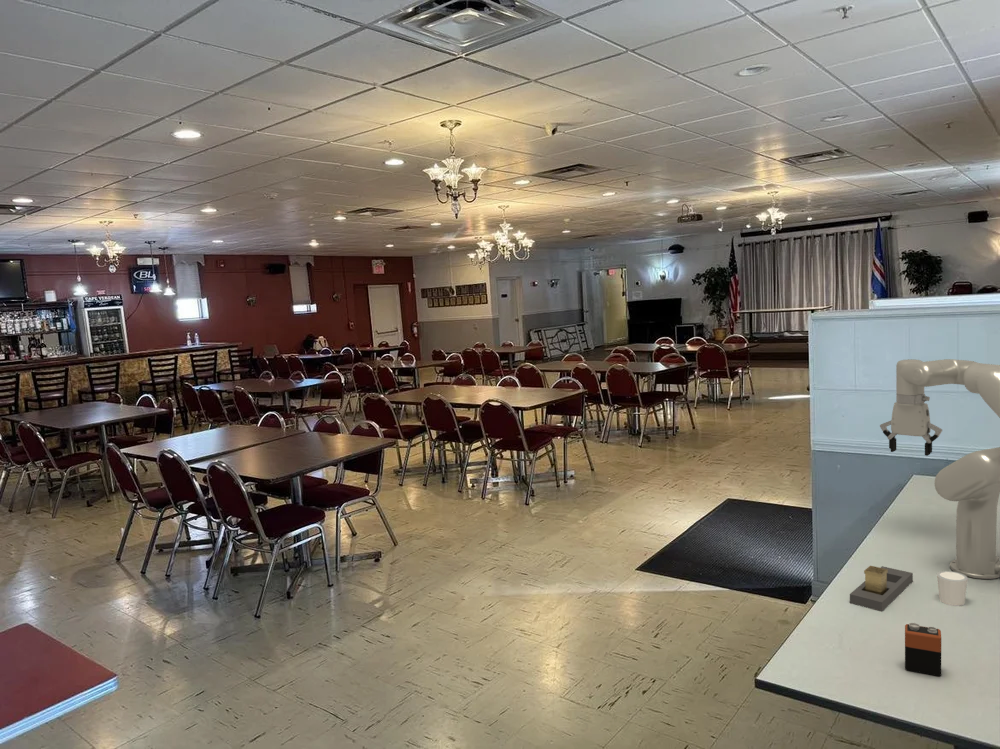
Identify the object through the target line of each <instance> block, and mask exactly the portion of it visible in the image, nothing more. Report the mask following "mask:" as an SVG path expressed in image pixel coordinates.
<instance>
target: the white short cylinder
mask: <svg viewBox="0 0 1000 749" xmlns="http://www.w3.org/2000/svg"><path fill="white" fill-rule="evenodd" d="M936 577H937V578H936V579H937V586H938V588H937V589H938V598H939V599H938V600H939V601H940V602H941V603H943V604H945V605H949V606H952V607H953V606H955V607H957V606H959V607H960V606H961V607H962V606H963V605H965V603H966V595H967V588H968V578H969V577H968V576H965V575H963V574H961V573H957V572H954V571H953V570H942V571H938V572H937V573H936Z"/></svg>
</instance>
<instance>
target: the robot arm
mask: <svg viewBox="0 0 1000 749" xmlns="http://www.w3.org/2000/svg"><path fill="white" fill-rule="evenodd" d="M895 366H896V370H895V373H896V375H895V376H896V380H895V382H896V392H895V393H896V394H895V395H896V401H895V402H894V404H893V407H892V414H891V420H888V421H886V422H883V423H882V424H879V427H880V429H881V431H882V433H883V434H884V436H885V437H886V438H887V439H888V448H889V449H890V452H891V453H893V452H896V451H897V438H896V436H897V435H899V436H908V437H909V436H911V437H922V438H923V440H925V442H924V456H926V457H927V456H930V455H931V454H932V452H933V442H934V441H936V439H938V438H939V437H940V435H941V434H942V432H943V429H942V428H940V427H939V426H936V424H933V423H931V416H930V408H929V404H928V403H925V402H929V401H930V396H926V394H925V387H926V388H927V387H936V386H942V385H952V384H953V385H962V386H964V387H965V389H966V390H967V391H968V392H970V393H972V394H977V395H978V394H979V395H980V397H981V398H982V400H983V401H984V402H985V404H987V405H988V406H989V408H990V409H991V410H992V411H993V413H995V414H996V415H997V417H999V419H1000V364H993V363H981V362H978V361H977V362H976V361H973V360H968V359H967V360H966V359H965V360H964V359H951V358H950V359H949V358H948V359H938V360H937V359H935V360H929V361H928V360H927V361H923V360H920V359H901V360H898V361H897V362H896V364H895ZM888 426H890V430H891V431H890V430H889V429H888ZM931 430H932V431H934V434H933V435H931V434H930V433H931ZM934 489H935V491H936V493H937V495H939V496H940V497H941V498H943V499H944V500H946V501H950V502H957V507H956V516H955V517H956V520H955V522H956V529H955V531H956V532H955V534H956V535H955V536H956V537H955V538H956V540H955V541H956V542H955V544H956V546H955V549H956V550H955V559H953V560H951V561H949V562H950V563H949V569H951V571H952V572H957V573H961V574H963V575H965V576H967V578H973V579H978V580H980V579H981V580H982V579H983V580H990V579H991V580H993V579H998V578H1000V556H998V555H997V526H998V525H997V520H998V519H997V518H998V503H999V497H1000V446H999V447H992V448H987V449H980V450H976V451H975V450H974V451H973V452H970V453H968V454H965V455H964V456H962V457H960V458H958V459H957V460H955V461H954V462H952V463H950V464H948V465H947V466H945V467H944V468H942V469H940V470H939V471H938V473H936V475H935V478H934Z"/></svg>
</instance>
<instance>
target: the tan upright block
mask: <svg viewBox="0 0 1000 749" xmlns="http://www.w3.org/2000/svg"><path fill="white" fill-rule="evenodd" d="M887 572H888V569H884V568H881V567H879V566H875V565H869V566H867V567H866V568H865V569H864V570H863V574H864V575H865V578H864V581H865V591H867V592H871V593H875V594H879V595H884V594H885V593H886V592H887Z"/></svg>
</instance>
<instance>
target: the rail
mask: <svg viewBox="0 0 1000 749" xmlns="http://www.w3.org/2000/svg"><path fill="white" fill-rule="evenodd" d="M880 568H884V569H888V572H887V592H886V593H885V594H884V595H879V594H875V593H871V592H867V591H865V580H864V582H862V583H861V584H860V585H859V586H857V587H856V588H855V589H854V590H853V591H851V592H850V593H849V603H850V604H853V605H856V606H859V605H860V607H863V606H864V607H863V608H867V607H868V609H871V610H875V611H879V612H883V611H884V610H885V609H886V608H887V607H889V605H890V604H891V603H893V601H895V599H896V598H897V597H899V595H901V593H903V592H904V591H905V589H907V588H908V587H909V585H910V584H912V583H913V580H914V578H913V577H914V575H913V573H914V572H909V571H906V570H905V571H904V570H902V569H896V568H892V567H887V566H883V565H882V566H880Z"/></svg>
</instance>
